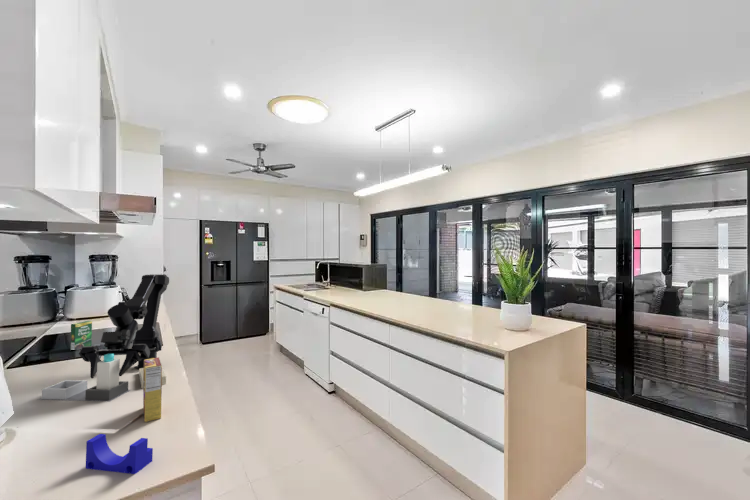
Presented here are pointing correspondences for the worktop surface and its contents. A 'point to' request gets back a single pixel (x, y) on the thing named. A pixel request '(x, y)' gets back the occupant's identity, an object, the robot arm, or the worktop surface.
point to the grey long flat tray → (82, 391)
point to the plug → (108, 372)
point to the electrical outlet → (142, 377)
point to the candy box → (152, 389)
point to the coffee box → (81, 335)
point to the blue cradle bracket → (117, 456)
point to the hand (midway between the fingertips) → (105, 376)
